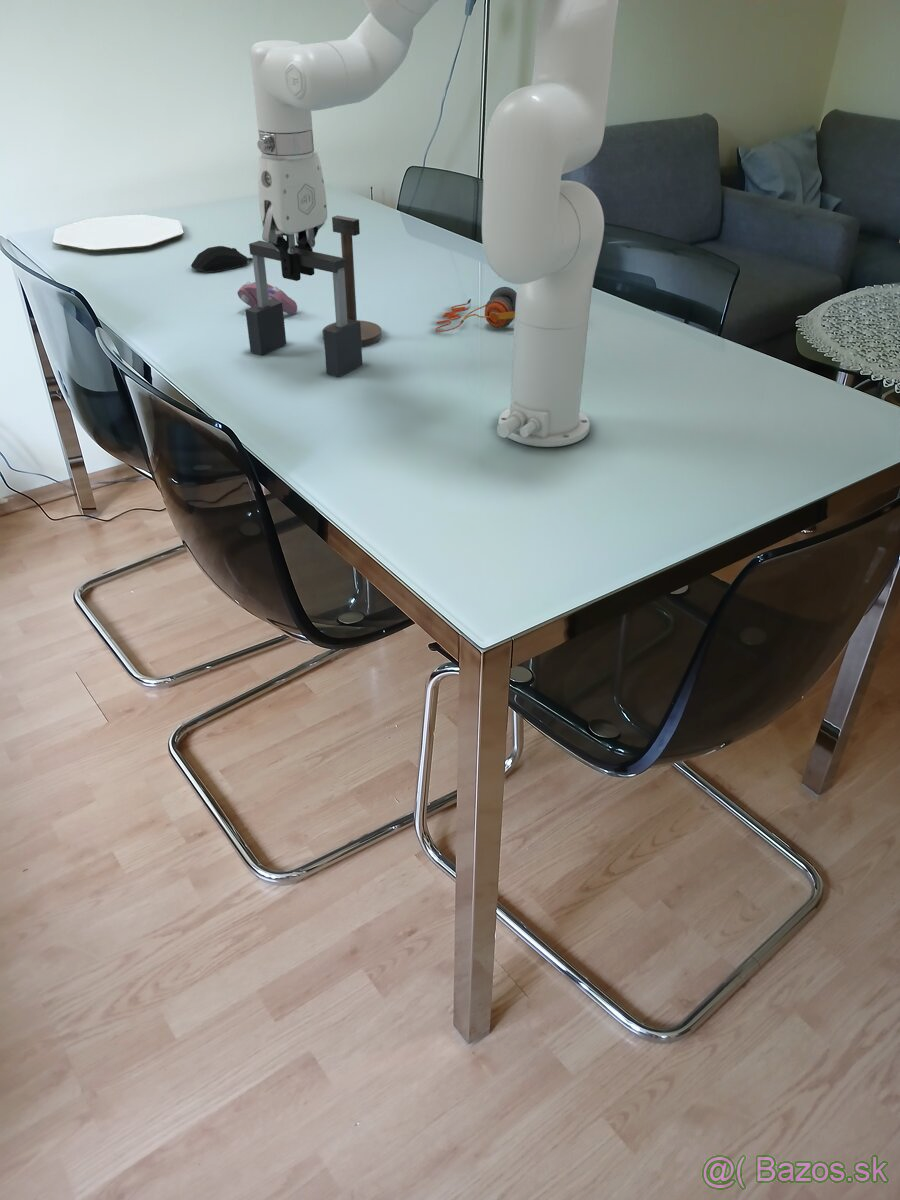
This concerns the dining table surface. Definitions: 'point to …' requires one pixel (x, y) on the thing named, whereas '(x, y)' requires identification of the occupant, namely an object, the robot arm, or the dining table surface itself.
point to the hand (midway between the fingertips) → (298, 275)
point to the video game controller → (274, 293)
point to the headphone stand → (348, 229)
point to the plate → (117, 232)
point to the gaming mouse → (219, 259)
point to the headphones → (489, 309)
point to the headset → (269, 317)
